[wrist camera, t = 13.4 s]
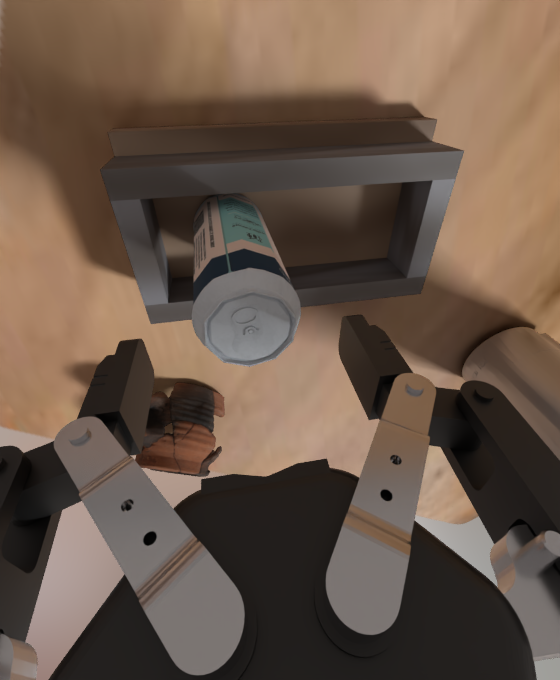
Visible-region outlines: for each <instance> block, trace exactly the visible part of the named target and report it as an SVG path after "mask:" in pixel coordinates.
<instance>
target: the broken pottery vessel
mask: <svg viewBox="0 0 560 680" xmlns="http://www.w3.org/2000/svg"><path fill="white" fill-rule="evenodd" d="M224 413H225V409H224V397H223V396H222V395H220V394H219V393H216V392H214V391H212V390H210V389H207V388H205V387H202V386H198V385H194V384H189V383H176V384H175V386H174V390H173V391H172V393H171V395H170V397H169V398H168V397H167V395H166V394H165V393H163V392H157V393H155V394H154V395H152V397H151V403H150V408H149V414H148V419H147V425H146V430H145V435H144V441H143V446H142V452H141V454H137V455H136V459H135V461H136V462H137V464H138V465H139V466H140V467H141V468H148V469H151V470H155V471H161V472H162V471H164V472H168V473H175V474H184V475H191V476H199V477H201V476H208V474H209V473H210V471H209V470H208V466H209V465H210V464H211V463H212V462H214V460H215V459H216V458H217V457H218V456H219V454H220V453H221V451H222V447H221V446H220V447H218V448H217V449H216V451H214V450H213V449H214V447H215V442H216V438H215V436H214V435H213V434H212V432H213V428H214V423H213V422H214V417H213V415H217V416H219V417H223V416H224ZM170 423H172V426H173V434H169V433H166V434H164V432H165V428H164V427H165V426H167V425H168V424H170Z"/></svg>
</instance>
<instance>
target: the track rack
mask: <svg viewBox="0 0 560 680" xmlns="http://www.w3.org/2000/svg"><path fill="white" fill-rule="evenodd" d="M436 123H437V119H432V118H427V117H414V118H387V119H360V120H333V121H306V122H280V123H253V124H226V125H199V126H172V127H145V128H118V129H112V130H110V131H109V132H108V136H109V139H110V142H111V146H112V149H113V152H114V156H115V157H113V158H112V159H111V160H110V161H109V162H108V163H107V164H106V165H105V166H104V167H103V168H101V169H100V171H101V174H102V177H103V181H104V184H105V187H106V190H107V193H108V196H109V199H110V202H111V205H112V208H113V211H114V214H115V217H116V220H117V223H118V226H119V229H120V232H121V235H122V238H123V241H124V244H125V247H126V250H127V253H128V256H129V259H130V262H131V265H132V268H133V271H134V274H135V277H136V280H137V284H138V287H139V290H140V293H141V296H142V299H143V302H144V305H145V308H146V311H147V314H148V317H149V320H150V323H151V324H156V323H164V322H173V321H182V320H191V319H192V311H193V283H194V228H193V224H194V217H195V214H196V212H197V210H198V209H199V207H200V205H201V204H202V203H203V202H204V201H205V200H207V199H208V198H209V197H211V196H214V195H216V194H229V193H237V194H240V195H242V196H244V197H247V198H248V199H249V200H251V201H252V202H253V203H254V204H255V205H256V206H257V208H258V209H259V211H260V213H261V215H262V217H263V220H264V222H265V224H266V227H267V229H268V231H269V233H270V236H271V238H272V240H273V242H274V245H275V247H276V249H277V251H278V254H279V256H280V258H281V260H282V263H283V265H284V267H285V269H286V272H287V274H288V276H289V278H290V281H291V283H292V285H293V287H294V290H295V292H296V293H297V295H298V298H299V301H300V307H307V306H316V305H325V304H334V303H343V302H351V301H360V300H369V299H378V298H387V297H396V296H405V295H414V294H421V291H422V288H423V285H424V282H425V278H426V275H427V272H428V268H429V265H430V262H431V258H432V255H433V252H434V249H435V245H436V242H437V239H438V235H439V232H440V229H441V225H442V222H443V219H444V216H445V212H446V209H447V206H448V202H449V199H450V196H451V192H452V189H453V186H454V183H455V179H456V176H457V173H458V169H459V166H460V163H461V159H462V156H463V153H464V151H463V150H460V149H456V148H453V147H450V146H446V145H443V144H439V143H436V142H433V141H432V139H433V135H434V131H435V127H436Z"/></svg>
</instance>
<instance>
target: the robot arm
mask: <svg viewBox="0 0 560 680" xmlns="http://www.w3.org/2000/svg"><path fill="white" fill-rule="evenodd" d="M339 355H340V359H341V361H342V363H343V365H344V367H345V370H346V372H347V374H348V376H349V378H350V380H351V382H352V385H353V387H354V389H355V391H356V393H357V395H358V397H359V400H360V402H361V404H362V406H363V408H364V410H365V412H366V415H367V417H368V419H369V420H372V419H379V420H380V421H379V424H378V427H377V430H376V433H375V435H374V438H373V441H372V444H371V447H370V450H369V453H368V456H367V458H366V461H365V464H364V467H363V470H362V473H361V476H360V478H359V477H357V476H355V475H353V474H351V473H349V472H346V471H343V470H339V469H334V468H329V464H328V461H327V459H322V460H316V461H310V462H304V463H298V464H295V465H293V466H290V467H288V468H286V469H284V470H281V471H279V472H277V473H274V474H272V475H270V476H266V477H262V476H250V475H238V474H231V475H225V476H219V477H213V478H207V479H202V480H201V490H199V491H197V492H195V493H193V494H192V495H190V496H188V497H187V498H185V499H184V500H182V501H181V502H180V503H179V504H178V505H177V506H176V507H175V508H174V509H173V508H172V507H171V506H170V504H169V503H168V502H167V501H166V499H165V498H164V497H163V495H162V494H161V493H160V492H159V490H158V489H157V488H156V486H155V485H154V484H153V483H152V481H151V480H150V479H149V478H148V476H147V475H146V474H145V472H144V471H143V470H142V469H141V467H140V466H139V465H138V464H137V462H136V461H135V460H134V459H133V458H132V457H131V456H130V455H137V454H141V452H142V446H143V441H144V435H145V430H146V425H147V419H148V414H149V408H150V403H151V397H152V392H153V386H154V370H153V367H152V364H151V361H150V358H149V355H148V353H147V350H146V347H145V344H144V342H143V340H142V339H133V340H124V341H120V342H119V344H118V347H117V350H116V353H115V355H108V356H106V357H105V359H104V360H103V361H102V362H101V363H100V364H99V365H98V366H97V369H96V371H95V374H94V378H93V379H92V382H91V384H90V387H89V389H88V392H87V395H86V397H85V400H84V402H83V405H82V407H81V410H80V412H79V415H78V418H77V419H76V420H74V421H72V422H70V423H69V424H67V425H66V426H65V427H63V428H62V429H61V430H60V432H59V433H58V434H57V436H56V438H55V440H54V441H53V442H51V443H48V444H46V445H43V446H41V447H38V448H35V449H33V450H30V451H28V452H25V453H23V452H22V451H21V450H20V449H19V448H17V447H15V446H3V447H0V680H36V673H37V666H38V662H37V661H38V660H37V654H36V651H35V649H34V648H33V647H32V646H31V645H30V644H28V643H26V642H25V640H26V637H27V633H28V630H29V626H30V623H31V619H32V615H33V612H34V608H35V605H36V601H37V598H38V594H39V591H40V587H41V583H42V580H43V576H44V573H45V569H46V566H47V562H48V559H49V555H50V551H51V548H52V544H53V541H54V537H55V533H56V530H57V527H58V523H59V519H60V516H61V512H62V510H63V509H65V508H67V507H69V506H71V505H74V504H76V503H78V502H80V501H83V503H84V505H85V506H86V508H87V510H88V511H89V514H90V515H91V517H92V519H93V520H94V522H95V523H96V526H97V527H98V529H99V531H100V532H101V534H102V536H103V538H104V539H105V541H106V543H107V544H108V546H109V548H110V550H111V551H112V553H113V555H114V556H115V558H116V560H117V562H118V563H119V565H120V567H121V568H122V570H123V572H124V576H123V577H122V579H121V580H120V581H119V583H118V584H117V586H116V587H115V588H114V590H113V591H112V592H111V594H110V595H109V597H108V598H107V599H106V601H105V602H104V603H103V605H102V606H101V608H100V609H99V610H98V612H97V613H96V614H95V616H94V617H93V619H92V620H91V621H90V623H89V624H88V625H87V627H86V628H85V630H84V631H83V632H82V634H81V635H80V637H79V638H78V639H77V641H76V642H75V644H74V645H73V646H72V648H71V649H70V650H69V652H68V653H67V654H66V656H65V657H64V658H63V660H62V661H61V663H60V664H59V665H58V667H57V668H56V669H55V671H54V673H53V674H52V675H51V677H50V678H49V680H537V679H536V672H535V666H534V661H539V660H545V659H552V658H558V657H560V344H559V343H558V342H557V341H555V340H554V339H553V338H551V337H550V336H549V335H547V334H546V333H544V334H539V333H538V332H536V331H535V330H534V329H531V328H528V327H517V328H511V329H508V330H505V331H502V332H500V333H498V334H496V335H494V336H492V337H490V338H489V339H487V340H486V341H484V342H483V343H482V344H480V345H479V346H478V347H477V348H476V349H475V350H474V351H473V352H472V353H471V354H470V356H469V357H468V358H467V360H466V362H465V363H464V366H463V369H462V376H463V379H464V380H465V381H466V382H465V383H464V384H463V385H462V386H461V388H460V390H454V389H445V388H438V387H435V386H434V385H433V383H432V382H431V381H430V380H428V379H427V378H425V377H423V376H421V375H419V374H415V373H413V372H412V370H411V369H410V368H409V366H408V365H407V363H406V362H405V360H404V359H403V357H402V356H401V354H400V353H399V352H398V350H397V349H396V348H395V346H394V344H393V343H392V342H391V340H390V339H389V337H388V336H387V334H386V333H385V332H384V331H383V330H381V329H380V328H379V327H377V326H376V325H371V326H369V324H368V323H367V321H366V320H365V318H364V317H363V315H352V316H344V317H343V318H342V323H341V331H340V339H339ZM429 445H432V446H439V447H441V449H442V451H443V452H444V454H445V456H446V458H447V460H448V461H449V463H450V465H451V467H452V469H453V470H454V472H455V474H456V476H457V478H458V479H459V481H460V483H461V485H462V487H463V488H464V490H465V492H466V494H467V496H468V497H469V499H470V501H471V503H472V505H473V506H474V508H475V510H476V512H477V514H478V515H479V517H480V519H481V521H482V523H483V524H484V526H485V528H486V530H487V532H488V533H489V535H490V537H491V539H492V541H493V543H494V544H495V545H494V546H493V547H492V549H491V552H490V560H491V565H492V567H493V570H494V572H495V577H496V579H497V584H498V588H497V586H496V585H495V584H494V583H493V582H492V581H490V580H489V579H488V578H487V577H486V576H485V575H483V574H482V573H481V572H480V571H478V570H477V569H476V568H474V567H473V566H472V565H471V564H469V563H468V562H467V561H466V560H464V559H463V558H462V557H461V556H459V555H458V554H457V553H455V552H454V551H453V550H452V549H450V548H449V547H448V546H446V545H445V544H444V543H443V542H441V541H440V540H439V539H438V538H436V537H435V536H434V535H432V534H431V533H430V532H429V531H427V530H426V529H425V528H424V527H422V526H421V525H420V524H418V523H417V522H416V521H415V520H414V519H415V514H416V509H417V504H418V499H419V493H420V488H421V483H422V478H423V473H424V468H425V463H426V457H427V452H428V447H429Z"/></svg>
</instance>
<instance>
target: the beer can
mask: <svg viewBox="0 0 560 680" xmlns="http://www.w3.org/2000/svg"><path fill="white" fill-rule="evenodd" d="M193 228H194V283H193V311H192V323H193V327H194V330H195V333H196V335H197V337H198V338H199V339H200V341H201V342H202V343H203V345H205V346H206V347H207V348H208V349H209V350H210V351H211V352H213V353H214V354H215V355H216V356H217V357H218V358H219V359H220V360H222V361H223V362H224V363H230V364H236V365H243V366H249V367H250V366H253V365H257V364H260V363H263V362H266V361H270V360H273V359H276V358H277V357H278V356H279V355H280V354H281V353H282V352H283V351H284V350H285V349H286V348H287V347H288V346H289V345H290V344H291V343H292V342H293V338H294V335H295V332H296V330H297V327H298V324H299V320H300V316H301V307H300V301H299V298H298V295H297V293H296V292H295V290H294V287H293V285H292V283H291V281H290V278H289V276H288V274H287V272H286V269H285V267H284V265H283V263H282V260H281V258H280V256H279V254H278V251H277V249H276V247H275V245H274V242H273V240H272V238H271V236H270V233H269V231H268V229H267V227H266V224H265V222H264V220H263V217H262V215H261V213H260V211H259V209H258V208H257V206H256V205H255V204H254V203H253V202H252V201H251V200H249V199H248V198H247V197H244V196H242V195H240V194H237V193H229V194H216V195H214V196H211V197H209V198H208V199H207V200H205V201H204V202H203V203H202V204H201V205H200V207H199V209H198V210H197V212H196V214H195V217H194V224H193Z"/></svg>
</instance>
